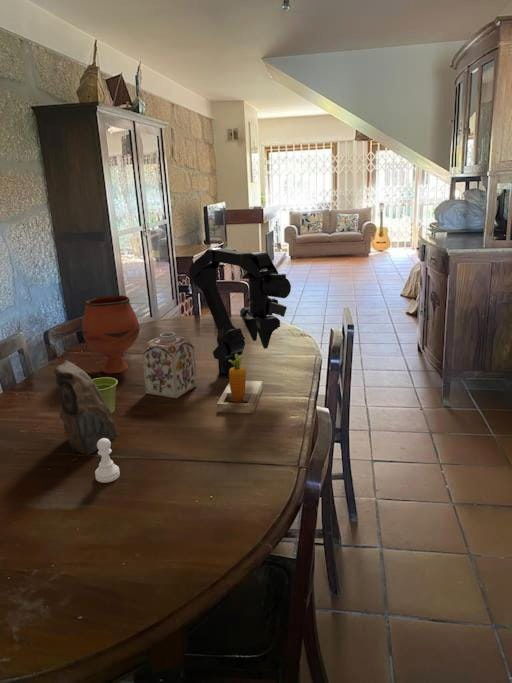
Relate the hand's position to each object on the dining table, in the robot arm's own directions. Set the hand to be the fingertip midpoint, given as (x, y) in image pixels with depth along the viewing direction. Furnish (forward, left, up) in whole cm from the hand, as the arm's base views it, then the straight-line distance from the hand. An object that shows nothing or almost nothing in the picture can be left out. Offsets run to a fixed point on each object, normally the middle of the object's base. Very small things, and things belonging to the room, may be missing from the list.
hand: (260, 344), depth 155 cm
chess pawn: (-25, -57, -13) cm, 64 cm away
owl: (-36, -42, -13) cm, 57 cm away
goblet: (-53, +10, -13) cm, 56 cm away
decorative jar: (-27, -7, -13) cm, 31 cm away
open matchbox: (-4, -13, -13) cm, 19 cm away
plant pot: (-41, -25, -13) cm, 50 cm away
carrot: (-4, -17, -13) cm, 22 cm away
